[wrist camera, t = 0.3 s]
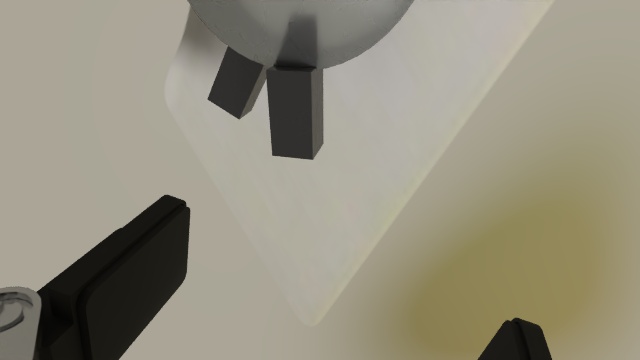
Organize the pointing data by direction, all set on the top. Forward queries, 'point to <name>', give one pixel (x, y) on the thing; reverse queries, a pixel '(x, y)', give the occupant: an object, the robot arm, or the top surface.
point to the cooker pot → (237, 83)
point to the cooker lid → (299, 53)
